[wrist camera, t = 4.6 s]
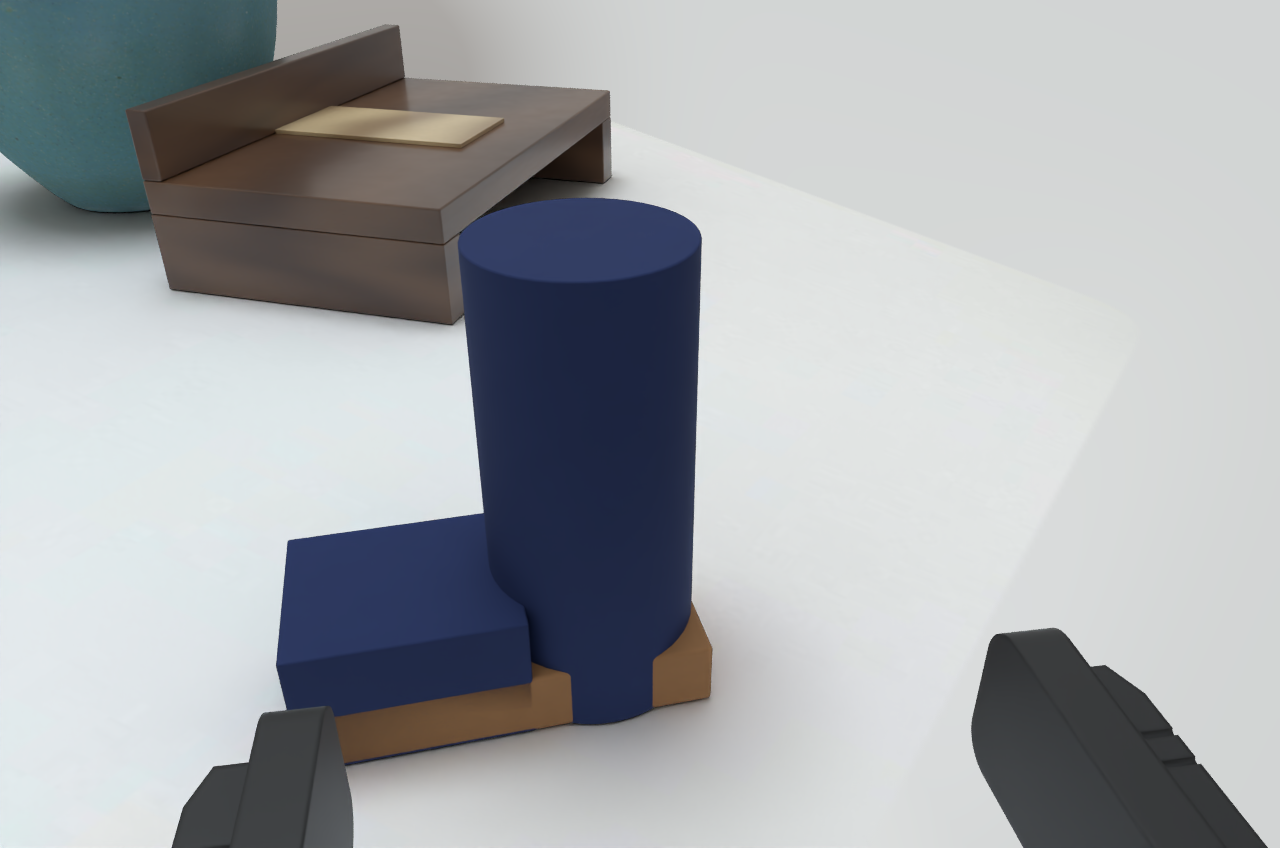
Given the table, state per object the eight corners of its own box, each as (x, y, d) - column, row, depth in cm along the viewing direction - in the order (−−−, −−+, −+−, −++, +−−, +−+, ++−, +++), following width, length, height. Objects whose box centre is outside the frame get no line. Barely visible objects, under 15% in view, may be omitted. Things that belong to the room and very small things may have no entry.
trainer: (662, 579, 28) (666, 189, 23) (713, 704, 24) (734, 267, 19) (309, 634, 26) (219, 224, 21) (301, 780, 22) (186, 320, 17)
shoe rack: (611, 176, 61) (609, 35, 57) (452, 324, 43) (431, 132, 39) (400, 158, 64) (384, 24, 60) (169, 289, 46) (123, 109, 42)
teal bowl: (198, 258, 49) (134, -16, 43) (-119, 232, 53) (-220, -25, 46) (361, 156, 65) (331, -56, 59) (108, 141, 68) (54, -61, 62)
